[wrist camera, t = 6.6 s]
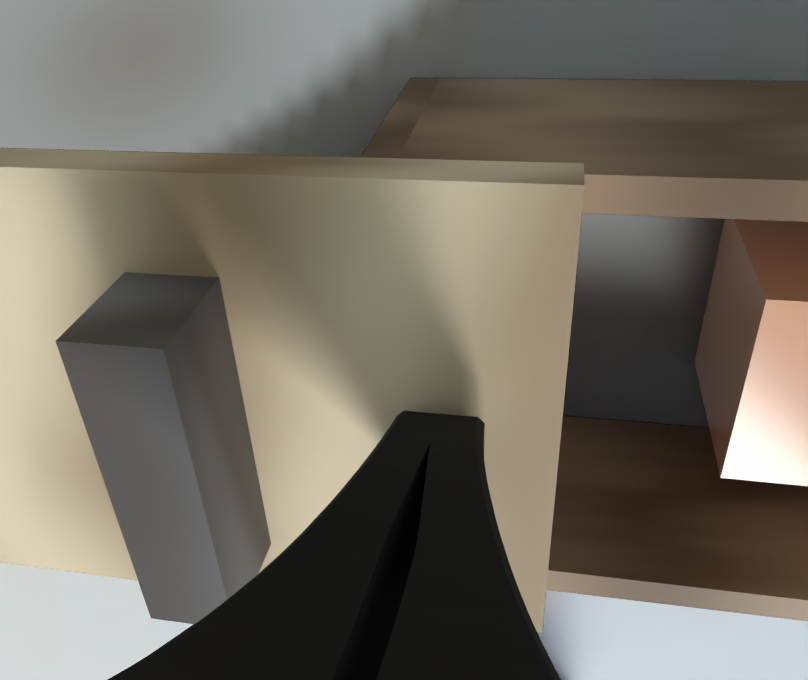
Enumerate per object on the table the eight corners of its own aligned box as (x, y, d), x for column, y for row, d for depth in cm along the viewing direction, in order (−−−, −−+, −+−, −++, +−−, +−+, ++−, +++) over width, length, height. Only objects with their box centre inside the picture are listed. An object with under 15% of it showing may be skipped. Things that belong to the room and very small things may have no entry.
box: (1081, 83, 14) (1300, 195, 9) (915, 464, 19) (1012, 645, 14) (410, 77, 16) (353, 167, 12) (422, 422, 21) (384, 570, 16)
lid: (583, 163, 11) (586, 254, 8) (543, 599, 16) (538, 729, 14) (-175, 143, 13) (-335, 211, 11) (7, 534, 18) (-75, 636, 16)
